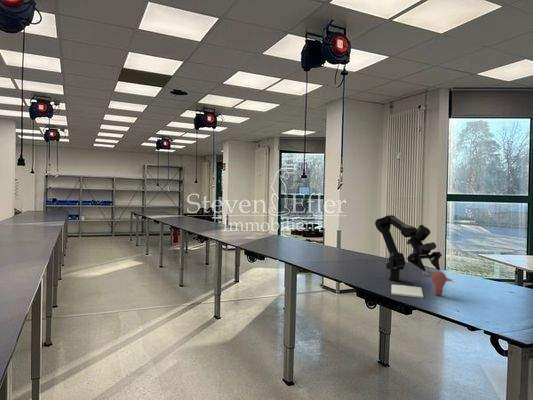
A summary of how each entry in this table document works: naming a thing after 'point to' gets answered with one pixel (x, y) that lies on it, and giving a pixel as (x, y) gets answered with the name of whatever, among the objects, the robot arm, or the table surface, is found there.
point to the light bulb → (438, 282)
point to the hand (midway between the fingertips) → (432, 270)
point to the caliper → (432, 272)
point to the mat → (407, 291)
